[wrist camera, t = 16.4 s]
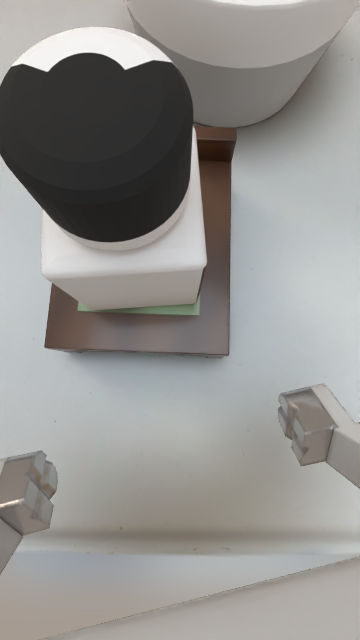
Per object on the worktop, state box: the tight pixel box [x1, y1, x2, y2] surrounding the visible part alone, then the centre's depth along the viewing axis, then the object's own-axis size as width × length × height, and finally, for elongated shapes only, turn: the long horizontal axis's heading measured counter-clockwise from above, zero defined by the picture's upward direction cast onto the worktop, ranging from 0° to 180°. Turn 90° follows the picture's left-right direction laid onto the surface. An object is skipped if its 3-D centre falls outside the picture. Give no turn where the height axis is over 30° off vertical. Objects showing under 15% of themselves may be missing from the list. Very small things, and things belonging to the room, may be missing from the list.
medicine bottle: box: [0, 27, 207, 310], centre depth 14 cm, size 7×7×12 cm
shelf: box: [44, 126, 237, 358], centre depth 21 cm, size 12×15×6 cm
